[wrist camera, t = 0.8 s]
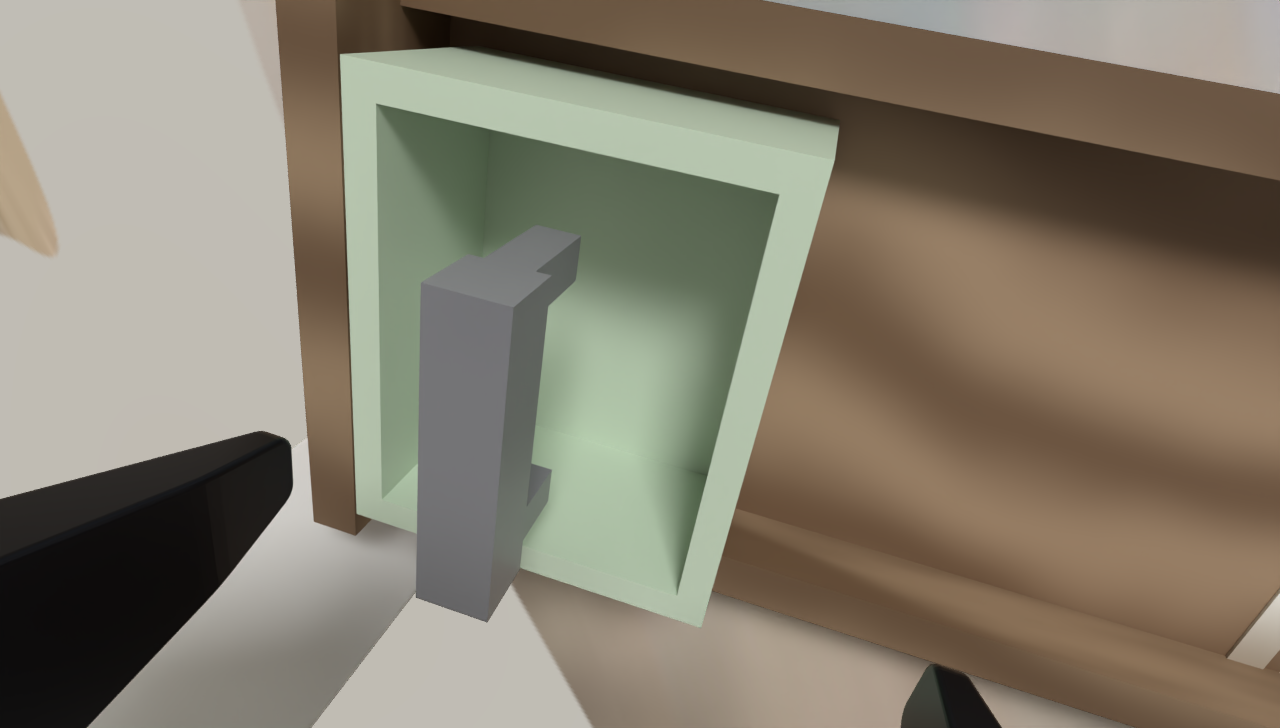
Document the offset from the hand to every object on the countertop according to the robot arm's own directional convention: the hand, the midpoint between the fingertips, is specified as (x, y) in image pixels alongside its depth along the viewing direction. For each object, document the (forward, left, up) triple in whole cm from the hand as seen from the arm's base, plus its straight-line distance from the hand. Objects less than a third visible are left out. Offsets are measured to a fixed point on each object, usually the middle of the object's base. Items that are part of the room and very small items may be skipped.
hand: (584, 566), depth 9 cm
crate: (-1, +3, -13) cm, 13 cm away
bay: (-1, -4, -13) cm, 14 cm away
